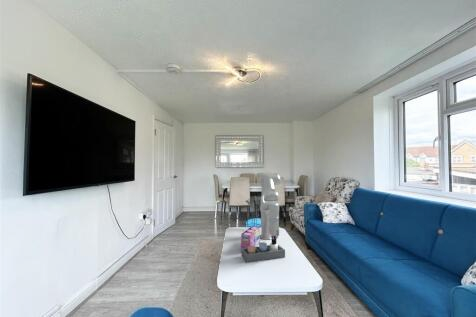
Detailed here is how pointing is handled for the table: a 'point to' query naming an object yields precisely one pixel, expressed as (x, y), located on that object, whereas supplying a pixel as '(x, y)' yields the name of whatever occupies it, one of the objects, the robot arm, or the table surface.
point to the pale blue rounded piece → (263, 247)
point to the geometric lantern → (253, 210)
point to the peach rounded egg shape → (251, 249)
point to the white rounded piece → (273, 247)
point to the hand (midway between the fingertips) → (274, 244)
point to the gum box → (250, 237)
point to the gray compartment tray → (262, 254)
